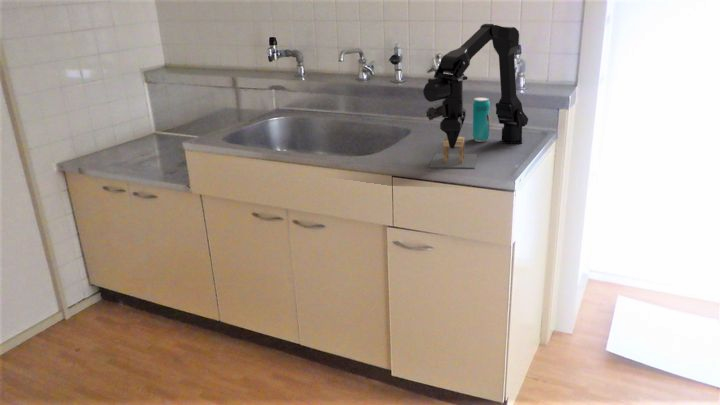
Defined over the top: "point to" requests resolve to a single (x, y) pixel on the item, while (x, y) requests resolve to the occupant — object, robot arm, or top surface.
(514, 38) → the robot arm
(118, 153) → the top surface
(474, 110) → the beverage can
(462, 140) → the stool
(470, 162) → the mat
